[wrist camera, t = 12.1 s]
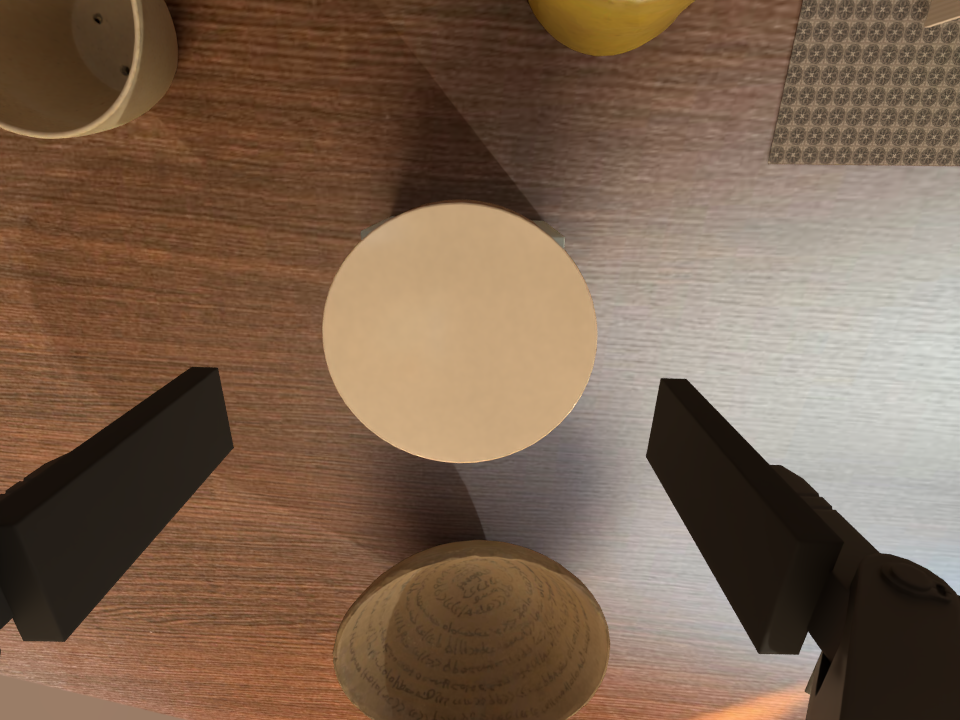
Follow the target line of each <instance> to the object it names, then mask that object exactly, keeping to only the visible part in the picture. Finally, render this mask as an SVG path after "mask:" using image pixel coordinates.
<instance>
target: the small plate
mask: <svg viewBox="0 0 960 720" xmlns="http://www.w3.org/2000/svg"><path fill="white" fill-rule="evenodd" d="M322 336H323V347H324V353H325V359H326V362H327V366H328V369H329V372H330V375H331V378H332V380H333V382H334V384H335V386H336V388H337V391H338V392H339V394H340V395H341V397H342V399H343V400H344V402H345V403H346V405H347V406H348V407H349V409H350V410H351V411H352V412H353V414H354V415H355V416H356V417H357V418H358V419H359V420H360V421H361V422H362V423H363V424H364V425H365V426H366V427H367V428H368V429H369V430H371V431H372V432H373V433H375V434H376V435H377V436H379V437H380V438H381V439H383V440H385V441H386V442H388V443H390V444H391V445H393V446H395V447H397V448H399V449H401V450H403V451H406V452H408V453H410V454H413V455H416V456H420V457H423V458H426V459H431V460H436V461H441V462H452V463H475V462H482V461H489V460H493V459H497V458H501V457H505V456H508V455H510V454H513V453H516V452H518V451H521V450H523V449H525V448H526V447H528V446H530V445H532V444H534V443H536V442H537V441H539V440H540V439H542V438H543V437H544V436H546V435H547V434H549V433H550V432H551V431H552V430H553V429H554V428H555V427H557V426H558V425H559V424H560V423H561V422H562V421H563V420H564V418H565V417H566V416H567V415H568V414H569V413H570V412H571V410H572V409H573V407H574V406H575V404H576V403H577V402H578V400H579V399H580V397H581V395H582V393H583V391H584V389H585V387H586V385H587V383H588V380H589V377H590V375H591V372H592V369H593V365H594V360H595V355H596V350H597V322H596V314H595V309H594V305H593V300H592V297H591V294H590V292H589V289H588V287H587V284H586V282H585V280H584V278H583V276H582V274H581V272H580V271H579V269H578V267H577V265H576V264H575V263H574V261H573V260H572V259H571V257H570V256H569V255H568V253H567V252H566V251H565V250H564V249H563V248H562V247H561V246H560V245H559V244H558V243H557V242H556V241H555V240H554V239H553V238H552V237H551V236H550V235H549V234H548V233H547V232H546V231H544V230H543V229H542V228H541V227H539V226H538V225H537V224H535V223H534V222H533V221H531V220H530V219H528V218H526V217H524V216H522V215H521V214H519V213H517V212H515V211H512V210H510V209H507V208H505V207H502V206H500V205H496V204H492V203H487V202H483V201H475V200H465V199H460V200H443V201H438V202H432V203H427V204H424V205H421V206H418V207H415V208H412V209H410V210H408V211H406V212H404V213H402V214H400V215H398V216H396V217H394V218H392V219H390V220H388V221H386V222H384V223H383V224H381V225H380V226H379V227H377V228H376V229H374V230H373V231H371V232H370V233H369V234H368V235H367V236H366V237H364V238H363V239H362V240H361V241H360V242H359V243H358V244H357V245H356V246H355V247H354V248H353V250H352V251H351V252H350V253H349V255H348V256H347V257H346V258H345V260H344V261H343V263H342V265H341V266H340V268H339V270H338V271H337V273H336V275H335V277H334V279H333V282H332V284H331V286H330V289H329V291H328V295H327V299H326V303H325V307H324V314H323V323H322Z"/></svg>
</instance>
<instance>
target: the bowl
mask: <svg viewBox="0 0 960 720" xmlns="http://www.w3.org/2000/svg"><path fill="white" fill-rule="evenodd" d="M609 653H610V638H609V631H608V626H607V623H606V620H605V617H604V614H603V612H602V610H601V607H600V605H599V604H598V602H597V601H596V599H595V598H594V596H593V595H592V593H591V592H590V591H589V590H588V588H587V587H586V586H585V585H584V584H583V583H582V582H581V581H580V580H579V579H578V578H577V577H576V576H575V575H573V574H572V573H571V572H569V571H568V570H567V569H566V568H564V567H563V566H562V565H560V564H559V563H557V562H555V561H554V560H552V559H550V558H548V557H547V556H545V555H543V554H540V553H538V552H536V551H533V550H531V549H528V548H525V547H521V546H518V545H514V544H510V543H506V542H499V541H488V540H470V541H461V542H453V543H448V544H443V545H439V546H435V547H432V548H429V549H426V550H424V551H421V552H419V553H417V554H414V555H412V556H410V557H409V558H407V559H405V560H403V561H401V562H399V563H398V564H396V565H395V566H393V567H392V568H390V569H389V570H387V571H386V572H384V573H383V574H382V575H381V576H379V577H378V578H377V579H376V580H375V581H374V582H373V583H372V584H371V585H370V586H369V587H368V588H367V589H366V590H365V591H364V592H363V593H362V594H361V595H360V596H359V597H358V598H357V600H356V601H355V602H354V603H353V605H352V606H351V607H350V608H349V610H348V611H347V613H346V614H345V616H344V618H343V620H342V622H341V624H340V626H339V629H338V631H337V635H336V639H335V644H334V650H333V663H334V669H335V673H336V676H337V679H338V681H339V684H340V686H341V688H342V689H343V691H344V693H345V694H346V696H347V697H348V698H349V700H350V701H351V702H352V703H353V704H354V705H355V706H356V707H357V708H358V709H359V710H360V711H362V712H363V713H364V714H365V715H366V716H368V717H369V718H371V719H372V720H567V719H569V718H570V717H571V716H573V715H574V714H575V713H577V712H578V711H579V710H580V709H581V708H582V707H584V706H585V705H586V704H587V703H588V702H589V701H590V700H591V699H592V697H593V696H594V694H595V693H596V691H597V689H598V688H599V686H600V684H601V683H602V681H603V678H604V676H605V673H606V670H607V665H608V660H609Z"/></svg>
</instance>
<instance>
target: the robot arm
mask: <svg viewBox="0 0 960 720" xmlns="http://www.w3.org/2000/svg"><path fill="white" fill-rule="evenodd" d="M233 448H234V447H233V442H232V437H231V432H230V427H229V422H228V417H227V411H226V406H225V401H224V396H223V391H222V386H221V381H220V376H219V371H218V368H212V367H191V368H190V369H188V370H187V371H185V372H184V373H182V374H181V375H180V376H178V377H177V378H175V379H174V380H172V381H171V382H170V383H168V384H167V385H165V386H164V387H162V388H161V389H160V390H158V391H157V392H155V393H154V394H152V395H151V396H150V397H148V398H147V399H145V400H144V401H143V402H141V403H140V404H138V405H137V406H135V407H134V408H133V409H131V410H130V411H128V412H127V413H125V414H124V415H123V416H121V417H120V418H118V419H117V420H115V421H114V422H113V423H111V424H110V425H108V426H107V427H105V428H104V429H103V430H101V431H100V432H98V433H97V434H95V435H94V436H93V437H91V438H90V439H88V440H87V441H85V442H84V443H83V444H81V445H80V446H78V447H77V448H75V449H74V450H73V451H71V452H69V453H67V454H65V455H63V456H61V457H59V458H56V459H54V460H52V461H50V462H48V463H45V464H44V465H42V466H41V467H40V468H38V469H37V470H35V471H34V472H32V473H31V474H29V475H28V476H26V477H25V478H24V480H23V481H19V482H18V483H16V484H15V485H13V486H12V487H10V488H9V489H8V490H6V493H5V494H0V629H1V628H3V627H4V626H5V625H6V624H7V623H8V622H9V621H10V620H11V619H12V618H13V620H14V622H15V624H16V626H17V629H18V631H19V633H20V635H21V637H22V639H23V641H52V642H65V641H66V640H67V639H68V637H69V636H70V635H71V634H72V633H73V632H74V630H75V629H76V628H77V627H78V626H79V625H80V624H81V622H82V621H83V620H84V619H85V618H86V617H87V616H88V614H89V613H90V612H91V611H92V610H93V609H94V607H95V606H96V605H97V604H98V603H99V602H100V601H101V599H102V598H103V597H104V596H105V595H106V594H107V593H108V591H109V590H110V589H111V588H112V587H113V586H114V585H115V583H116V582H117V581H118V580H119V579H120V578H121V576H122V575H123V574H124V573H125V572H126V571H127V570H128V568H129V567H130V566H131V565H132V564H133V563H134V562H135V560H136V559H137V558H138V557H139V556H140V555H141V553H142V552H143V551H144V550H145V549H146V548H147V547H148V545H149V544H150V543H151V542H152V541H153V540H154V539H155V537H156V536H157V535H158V534H159V533H160V532H161V531H162V529H163V528H164V527H165V526H166V525H167V524H168V522H169V521H170V520H171V519H172V518H173V517H174V516H175V514H176V513H177V512H178V511H179V510H180V509H181V508H182V506H183V505H184V504H185V503H186V502H187V501H188V499H189V498H190V497H191V496H192V495H193V494H194V493H195V491H196V490H197V489H198V488H199V487H200V486H201V485H202V483H203V482H204V481H205V480H206V479H207V478H208V476H209V475H210V474H211V473H212V472H213V471H214V470H215V468H216V467H217V466H218V465H219V464H220V463H221V462H222V460H223V459H224V458H225V457H226V456H227V455H228V454H229V452H230V451H231V450H232V449H233ZM646 458H647V459H648V461H649V463H650V465H651V466H652V468H653V470H654V472H655V473H656V475H657V477H658V479H659V480H660V482H661V484H662V486H663V487H664V489H665V491H666V493H667V494H668V496H669V498H670V500H671V501H672V503H673V505H674V507H675V508H676V510H677V512H678V514H679V515H680V517H681V519H682V520H683V522H684V524H685V526H686V527H687V529H688V531H689V533H690V534H691V536H692V538H693V540H694V541H695V543H696V545H697V547H698V548H699V550H700V552H701V554H702V555H703V557H704V559H705V561H706V562H707V564H708V566H709V568H710V569H711V571H712V573H713V575H714V576H715V578H716V580H717V582H718V583H719V585H720V587H721V589H722V590H723V592H724V594H725V596H726V597H727V599H728V601H729V603H730V604H731V606H732V608H733V610H734V611H735V613H736V615H737V617H738V618H739V620H740V622H741V624H742V625H743V627H744V629H745V631H746V632H747V634H748V636H749V638H750V639H751V641H752V643H753V645H754V646H755V648H756V650H757V652H758V653H759V654H793V655H799V652H800V650H801V647H802V645H803V643H804V640H805V638H806V635H807V633H808V632H809V633H810V635H811V636H812V637H813V639H814V640H815V642H816V643H817V645H818V646H819V647H820V649H821V650H822V652H821V654H820V656H819V659H818V661H817V663H816V666H815V668H814V670H813V673H812V675H811V677H810V680H809V682H808V684H807V687H806V689H805V692H806V693H808V694H810V699H809V704H808V710H807V715H806V720H960V596H959V595H957V594H956V592H955V591H954V590H953V589H952V588H951V587H950V586H949V585H948V584H947V583H946V582H945V581H944V580H943V579H941V578H940V577H938V576H937V575H935V574H934V573H932V572H931V571H929V570H928V569H926V568H924V567H922V566H920V565H918V564H916V563H914V562H912V561H910V560H907V559H904V558H901V557H898V556H894V555H891V554H882V553H879V552H878V551H877V550H876V549H875V548H874V547H873V546H872V545H871V544H870V543H869V542H868V541H867V540H866V539H865V538H864V537H863V536H862V535H861V534H860V533H859V532H858V531H857V530H856V529H855V528H854V527H853V526H852V525H850V524H849V523H848V522H847V521H846V520H845V519H844V518H843V517H842V516H841V515H840V514H839V513H838V512H837V511H836V510H832V506H831V505H830V504H829V503H828V502H827V501H826V500H825V499H824V498H823V497H819V494H818V493H817V492H816V491H815V490H814V489H813V488H812V487H811V486H810V485H809V484H808V483H807V482H806V481H805V480H804V479H803V478H801V477H800V476H798V475H796V474H795V473H793V472H791V471H790V470H788V469H786V468H785V467H783V466H781V465H769V464H768V463H767V462H766V461H765V460H764V459H763V458H762V457H761V456H760V454H759V453H758V452H757V451H756V450H755V449H754V448H753V447H752V446H751V445H750V444H749V443H748V442H747V441H746V440H745V439H744V438H743V437H742V436H741V435H740V434H739V433H738V432H737V431H736V430H735V429H734V428H733V427H732V426H731V425H730V424H729V422H728V421H727V420H726V419H725V418H724V417H723V416H722V415H721V414H720V413H719V412H718V411H717V410H716V409H715V408H714V407H713V406H712V405H711V404H710V403H709V402H708V401H707V400H706V399H705V398H704V397H703V396H702V395H701V394H700V393H699V392H698V390H697V389H696V388H695V387H694V386H693V385H692V384H691V383H690V382H689V381H688V380H687V379H668V378H661V380H660V385H659V390H658V396H657V401H656V406H655V412H654V417H653V422H652V428H651V433H650V438H649V444H648V449H647V454H646ZM0 653H1V649H0Z"/></svg>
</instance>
